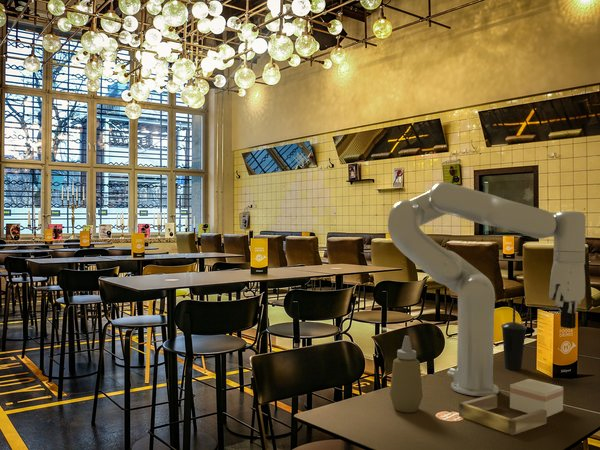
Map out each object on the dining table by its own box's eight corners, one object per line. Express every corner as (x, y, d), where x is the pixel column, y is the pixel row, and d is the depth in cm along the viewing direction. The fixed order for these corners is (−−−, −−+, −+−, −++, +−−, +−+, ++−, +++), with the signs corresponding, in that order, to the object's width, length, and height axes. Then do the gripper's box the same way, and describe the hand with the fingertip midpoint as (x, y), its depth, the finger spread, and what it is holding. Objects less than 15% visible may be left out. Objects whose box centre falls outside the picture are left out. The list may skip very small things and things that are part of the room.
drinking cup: (529, 372, 173) (531, 308, 173) (505, 371, 173) (506, 307, 173) (520, 365, 181) (521, 304, 181) (497, 365, 181) (498, 304, 181)
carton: (509, 408, 139) (509, 384, 139) (528, 401, 145) (528, 378, 145) (544, 418, 132) (545, 393, 132) (563, 411, 138) (563, 387, 137)
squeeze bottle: (382, 405, 138) (384, 334, 138) (410, 402, 142) (411, 332, 142) (401, 416, 131) (402, 340, 131) (429, 412, 134) (430, 338, 134)
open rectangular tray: (458, 415, 132) (459, 403, 132) (492, 406, 140) (493, 394, 140) (512, 435, 120) (512, 421, 120) (546, 423, 128) (546, 410, 128)
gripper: (570, 256, 154) (569, 322, 154) (539, 257, 145) (538, 327, 145) (597, 258, 147) (596, 327, 147) (567, 259, 139) (566, 332, 139)
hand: (567, 327), depth 146 cm, fingers closed
